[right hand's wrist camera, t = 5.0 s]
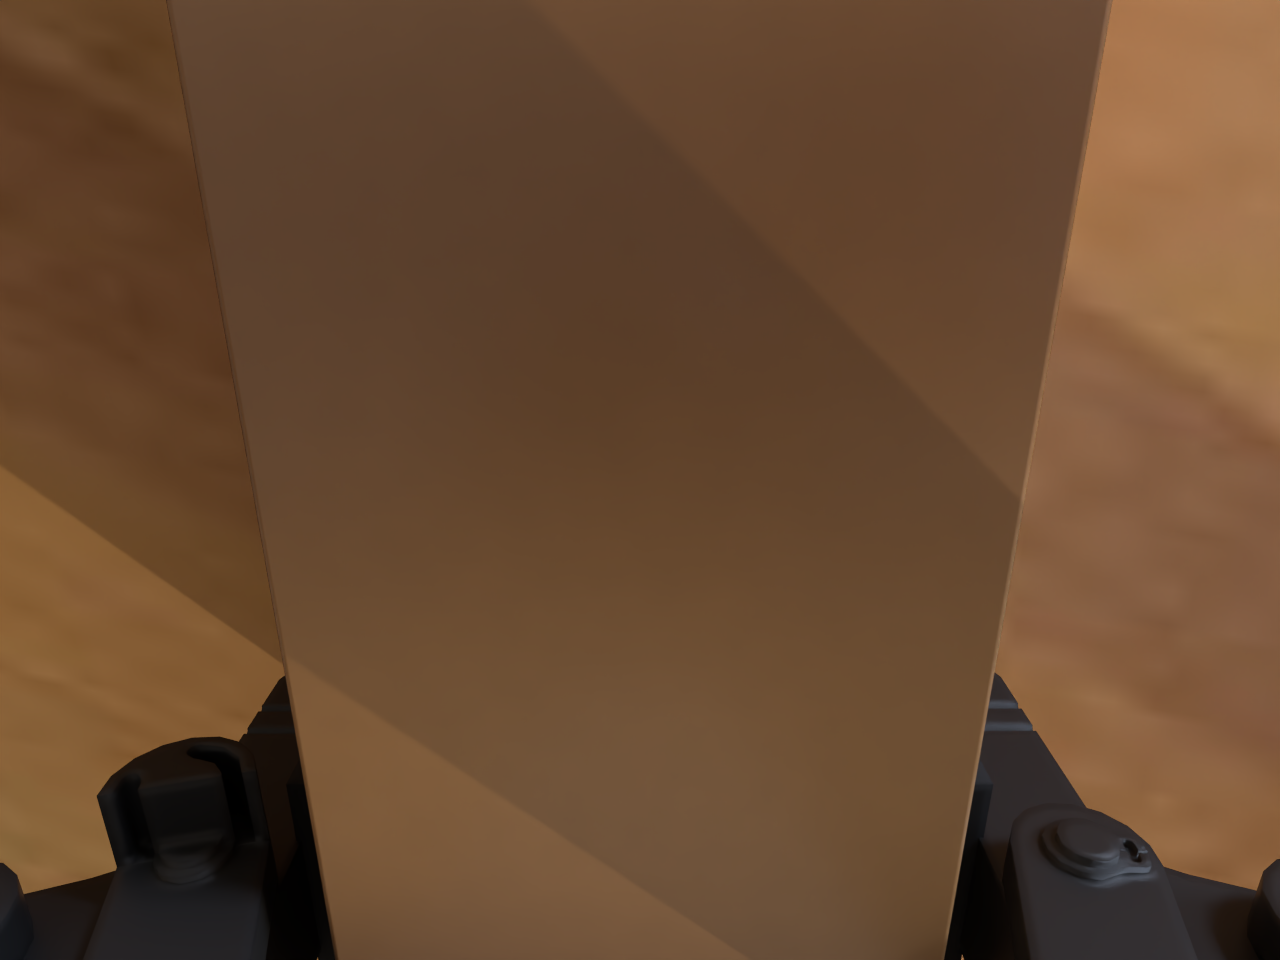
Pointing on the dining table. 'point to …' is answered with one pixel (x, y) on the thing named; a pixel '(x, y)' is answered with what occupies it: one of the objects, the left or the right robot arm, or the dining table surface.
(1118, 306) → the dining table surface
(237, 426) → the dining table surface
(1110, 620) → the dining table surface
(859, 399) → the post
